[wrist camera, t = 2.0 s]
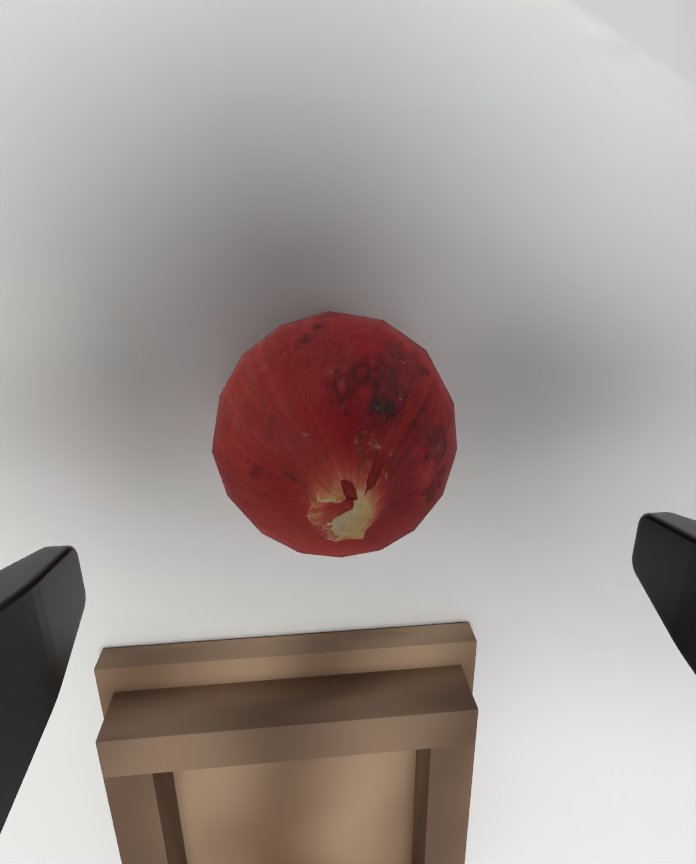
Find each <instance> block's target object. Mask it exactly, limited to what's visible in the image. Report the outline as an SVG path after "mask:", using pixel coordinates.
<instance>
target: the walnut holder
mask: <svg viewBox="0 0 696 864" xmlns="http://www.w3.org/2000/svg"><path fill="white" fill-rule="evenodd" d="M476 644H477V641H476V638H475V636H474V634H473V632H472V629H471V627H470V625H469V622H468V623H454V624H440V625H426V626H412V627H398V628H384V629H371V630H357V631H343V632H329V633H315V634H301V635H287V636H273V637H259V638H246V639H232V640H218V641H204V642H190V643H176V644H162V645H148V646H135V647H121V648H107V649H103V650H102V652H101V655H100V657H99V659H98V662H97V664H96V666H95V669H94V672H95V677H96V682H97V687H98V692H99V696H100V701H101V706H102V711H103V716H104V721H103V724H102V726H101V729H100V732H99V734H98V737H97V740H96V746H97V751H98V756H99V760H100V765H101V769H102V774H103V779H104V783H105V788H106V792H107V797H108V802H109V806H110V811H111V815H112V820H113V825H114V829H115V834H116V838H117V843H118V848H119V852H120V857H121V861H122V864H464V863H465V852H466V841H467V829H468V818H469V807H470V796H471V785H472V774H473V763H474V751H475V740H476V729H477V718H478V708H477V705H476V702H475V700H474V697H473V695H472V692H473V680H474V668H475V656H476Z"/></svg>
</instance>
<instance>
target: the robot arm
mask: <svg viewBox="0 0 696 864" xmlns="http://www.w3.org/2000/svg"><path fill="white" fill-rule="evenodd" d="M632 564H633V568H634V571H635V573H636V575H637V577H638V579H639V581H640V582H641V584H642V586H643V588H644V589H645V591H646V593H647V595H648V597H649V598H650V600H651V602H652V604H653V606H654V607H655V609H656V611H657V613H658V614H659V616H660V618H661V620H662V622H663V623H664V625H665V627H666V629H667V630H668V632H669V634H670V636H671V638H672V639H673V641H674V643H675V644H676V646H677V648H678V649H679V651H680V652H681V654H682V655H683V657H684V658H685V660H686V661H687V663H688V664H689V666H690V667H691V669H692V670H693V672H694V673H695V674H696V521H695V520H692V519H689V518H686V517H683V516H680V515H677V514H674V513H670V512H658V513H647V514H644V515H643V516H642V517H641V518H640V520H639V523H638V528H637V533H636V539H635V544H634V550H633V555H632ZM85 599H86V595H85V588H84V583H83V578H82V573H81V568H80V563H79V558H78V554H77V552H76V550H75V548H73V547H72V546H50V547H44V548H42V549H40V550H38V551H36V552H34V553H32V554H30V555H28V556H27V557H25V558H23V559H21V560H19V561H17V562H15V563H13V564H11V565H9V566H7V567H5V568H4V569H2V570H0V833H1V831H2V828H3V826H4V824H5V821H6V819H7V817H8V814H9V812H10V810H11V807H12V805H13V802H14V800H15V798H16V795H17V793H18V791H19V788H20V786H21V784H22V781H23V779H24V777H25V774H26V772H27V769H28V767H29V765H30V762H31V760H32V758H33V755H34V753H35V751H36V748H37V746H38V743H39V741H40V739H41V736H42V734H43V732H44V729H45V727H46V725H47V722H48V720H49V718H50V715H51V713H52V710H53V708H54V705H55V703H56V700H57V697H58V694H59V691H60V688H61V685H62V682H63V679H64V675H65V672H66V668H67V665H68V662H69V658H70V655H71V651H72V648H73V645H74V641H75V638H76V635H77V631H78V628H79V624H80V621H81V618H82V614H83V611H84V607H85Z"/></svg>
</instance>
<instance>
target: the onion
mask: <svg viewBox="0 0 696 864" xmlns="http://www.w3.org/2000/svg"><path fill="white" fill-rule="evenodd" d="M456 450H457V442H456V428H455V414H454V403H453V401H452V399H451V397H450V395H449V392H448V391H447V389H446V387H445V385H444V383H443V381H442V379H441V377H440V375H439V374H438V372H437V370H436V368H435V366H434V364H433V362H432V360H431V358H430V357H429V355H428V353H427V351H426V350H425V349H424V348H422V347H421V346H419V345H418V344H416V343H415V342H414V341H412V340H411V339H409V338H408V337H406V336H405V335H403V334H402V333H401V332H399V331H398V330H396V329H395V328H393V327H392V326H391V325H389V324H388V323H386V322H385V321H383V320H378V319H372V318H366V317H360V316H354V315H348V314H342V313H336V312H326V313H323V314H319V315H316V316H312V317H309V318H305V319H302V320H298V321H295V322H291V323H288V324H285V325H281V326H279V327H278V328H277V329H276V330H274V331H273V332H272V333H270V334H269V335H268V336H267V337H265V338H264V339H263V340H262V341H260V342H259V343H258V344H256V345H255V346H254V347H253V348H251V349H250V350H249V351H247V352H246V353H245V354H244V355H242V357H241V359H240V361H239V363H238V364H237V366H236V368H235V370H234V371H233V373H232V375H231V377H230V378H229V380H228V382H227V384H226V386H225V387H224V389H223V391H222V393H221V394H220V398H219V404H218V411H217V418H216V425H215V431H214V438H213V449H212V453H213V456H214V459H215V462H216V465H217V467H218V470H219V473H220V476H221V479H222V481H223V484H224V487H225V490H226V493H227V495H228V497H229V498H230V499H231V500H232V501H233V502H234V503H235V504H236V506H237V507H238V508H239V509H240V510H241V511H242V512H243V513H244V514H245V515H246V516H247V518H248V519H249V520H250V521H251V522H252V523H253V524H254V525H255V526H256V527H257V528H258V529H259V531H260V532H261V533H262V534H264V535H266V536H268V537H270V538H272V539H274V540H276V541H278V542H280V543H282V544H284V545H286V546H288V547H290V548H291V549H293V550H295V551H297V552H300V553H305V554H314V555H323V556H333V557H346V556H351V555H357V554H362V553H368V552H373V551H378V550H382V549H383V548H385V547H387V546H388V545H390V544H392V543H394V542H395V541H397V540H399V539H400V538H402V537H404V536H405V535H407V534H409V533H410V532H412V531H414V530H415V529H416V527H417V526H418V525H419V524H420V522H421V521H422V520H423V519H424V517H425V516H426V515H427V514H428V512H429V511H430V510H431V509H432V508H433V506H434V505H435V504H436V503H437V501H438V500H439V499H440V498H441V496H442V495H443V492H444V489H445V486H446V483H447V480H448V477H449V474H450V471H451V468H452V464H453V461H454V458H455V454H456Z"/></svg>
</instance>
